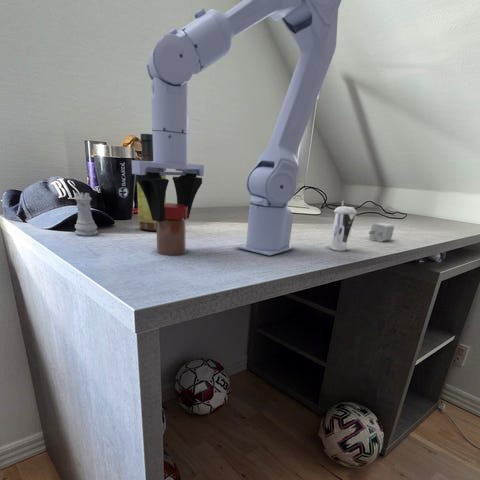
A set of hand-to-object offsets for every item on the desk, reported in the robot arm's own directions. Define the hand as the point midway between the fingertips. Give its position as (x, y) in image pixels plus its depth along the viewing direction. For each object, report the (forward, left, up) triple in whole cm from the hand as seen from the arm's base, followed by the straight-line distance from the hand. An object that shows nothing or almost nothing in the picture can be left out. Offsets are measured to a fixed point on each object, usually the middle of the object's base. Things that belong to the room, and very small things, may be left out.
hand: (171, 219), depth 62 cm
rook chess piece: (+4, -21, -6) cm, 22 cm away
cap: (0, 0, +2) cm, 2 cm away
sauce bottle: (-11, -18, -6) cm, 22 cm away
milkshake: (-31, +20, -6) cm, 37 cm away
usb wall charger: (-51, +23, -6) cm, 56 cm away
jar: (0, 0, -6) cm, 6 cm away
